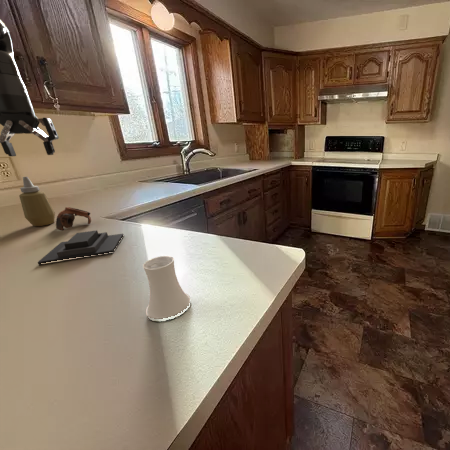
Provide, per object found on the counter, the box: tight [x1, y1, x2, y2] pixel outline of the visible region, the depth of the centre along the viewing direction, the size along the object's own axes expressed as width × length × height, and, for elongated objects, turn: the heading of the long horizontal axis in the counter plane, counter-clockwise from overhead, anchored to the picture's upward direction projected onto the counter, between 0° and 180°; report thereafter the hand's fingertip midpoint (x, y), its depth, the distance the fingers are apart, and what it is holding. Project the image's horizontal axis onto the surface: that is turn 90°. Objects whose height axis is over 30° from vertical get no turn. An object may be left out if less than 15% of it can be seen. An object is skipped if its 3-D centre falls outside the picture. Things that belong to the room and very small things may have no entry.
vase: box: [142, 255, 191, 319], centre depth 45 cm, size 8×8×10 cm
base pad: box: [37, 231, 124, 264], centre depth 72 cm, size 16×14×2 cm
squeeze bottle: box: [18, 176, 56, 227], centre depth 90 cm, size 8×8×18 cm
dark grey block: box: [64, 229, 99, 250], centre depth 71 cm, size 5×9×3 cm, turn 24°
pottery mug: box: [55, 206, 92, 231], centre depth 89 cm, size 12×10×8 cm
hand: (32, 155), depth 73 cm, fingers open, 8 cm apart
